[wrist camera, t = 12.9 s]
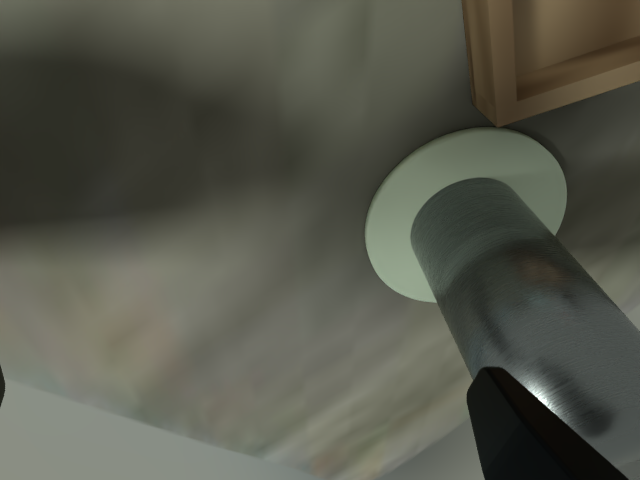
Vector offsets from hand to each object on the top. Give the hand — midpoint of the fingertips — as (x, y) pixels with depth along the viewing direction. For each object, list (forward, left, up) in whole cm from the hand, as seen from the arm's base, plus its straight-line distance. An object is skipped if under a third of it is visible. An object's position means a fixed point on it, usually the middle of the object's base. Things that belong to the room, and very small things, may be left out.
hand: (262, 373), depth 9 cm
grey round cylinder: (+11, -4, -12) cm, 17 cm away
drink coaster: (+11, -4, -13) cm, 17 cm away
